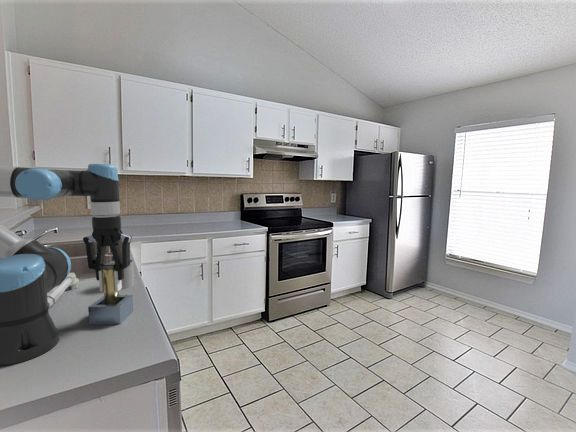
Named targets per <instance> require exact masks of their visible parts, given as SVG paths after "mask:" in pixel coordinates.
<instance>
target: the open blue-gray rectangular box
mask: <svg viewBox="0 0 576 432" xmlns="http://www.w3.org/2000/svg"><path fill="white" fill-rule="evenodd" d="M133 297H134V296H133V295H132V294H121V295H120V294H119V303H118V304H117V305H105V303H104V295H103V296H101V297H100V298H99V299H97V300H96V301H95V302H93V303H91V304H90V305H89V306H88V307H87V309H88V310H87V311H88V323H89V326H90V325H91V326H92V325H121V324H122V323H123V322H124V321H125V320H126V319H127V318H128V317H129V316H130V315H131V314H133V312H134V298H133Z"/></svg>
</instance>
